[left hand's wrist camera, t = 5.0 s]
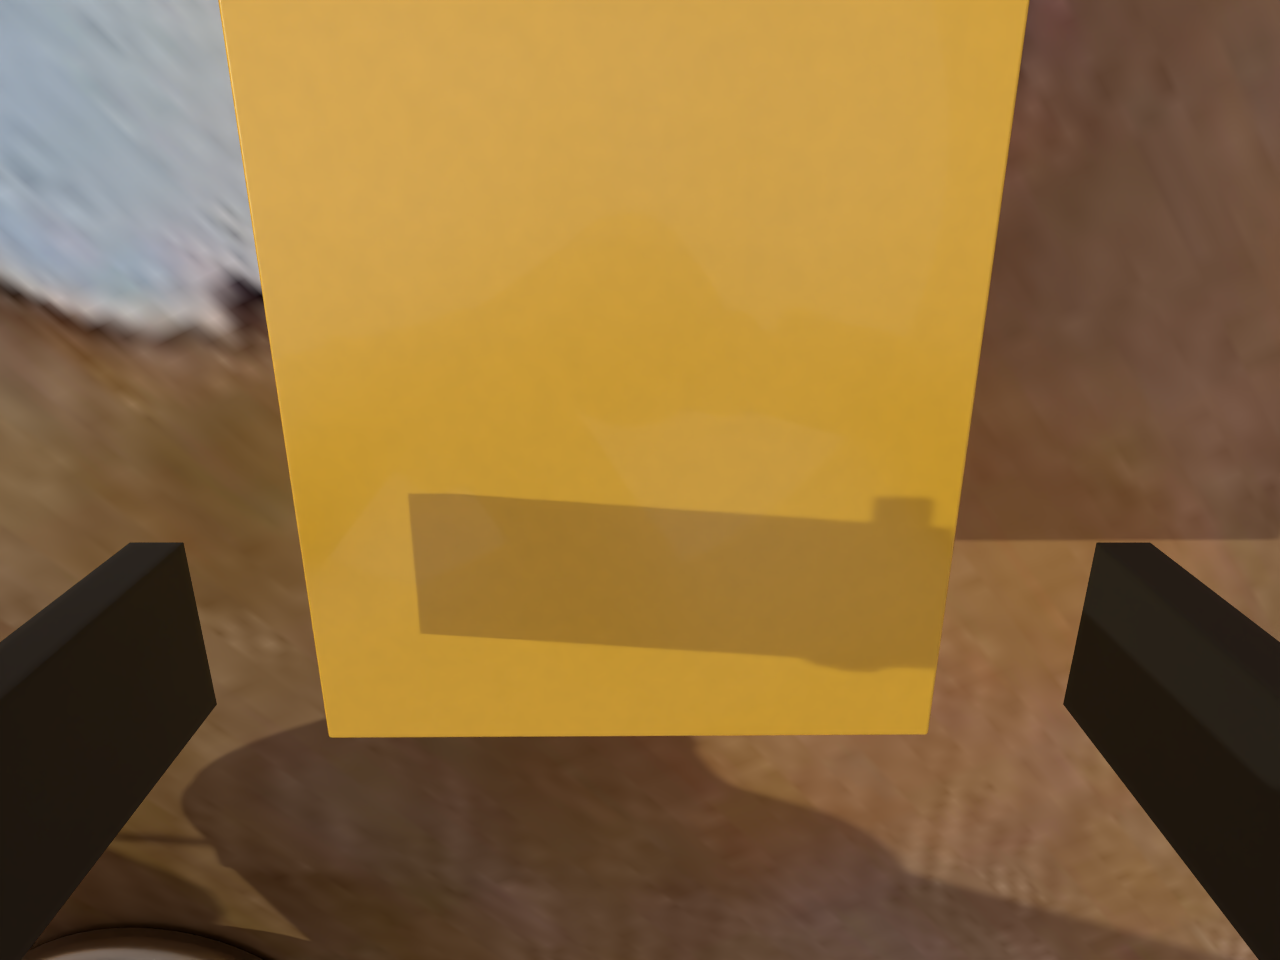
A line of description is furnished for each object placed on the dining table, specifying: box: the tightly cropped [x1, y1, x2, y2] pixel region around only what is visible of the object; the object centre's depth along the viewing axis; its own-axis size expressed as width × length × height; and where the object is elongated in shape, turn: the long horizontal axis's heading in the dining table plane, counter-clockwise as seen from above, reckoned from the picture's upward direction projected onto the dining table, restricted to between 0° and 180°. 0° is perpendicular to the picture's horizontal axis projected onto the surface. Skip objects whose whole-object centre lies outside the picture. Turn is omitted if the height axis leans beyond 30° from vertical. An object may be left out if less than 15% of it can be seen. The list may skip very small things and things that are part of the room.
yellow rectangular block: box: [218, 0, 1029, 738], centre depth 18 cm, size 22×11×11 cm, turn 0°
